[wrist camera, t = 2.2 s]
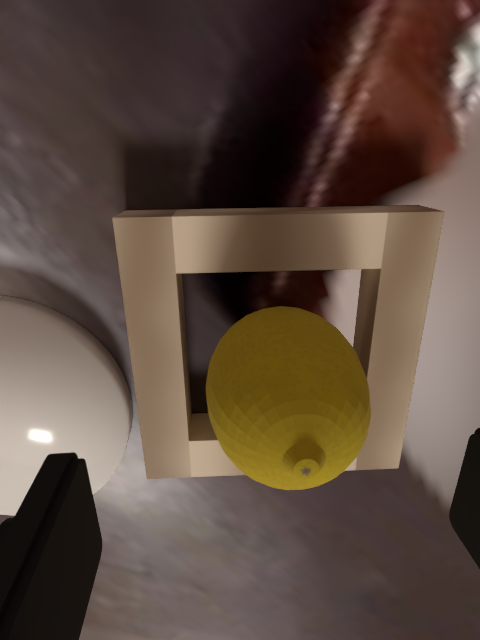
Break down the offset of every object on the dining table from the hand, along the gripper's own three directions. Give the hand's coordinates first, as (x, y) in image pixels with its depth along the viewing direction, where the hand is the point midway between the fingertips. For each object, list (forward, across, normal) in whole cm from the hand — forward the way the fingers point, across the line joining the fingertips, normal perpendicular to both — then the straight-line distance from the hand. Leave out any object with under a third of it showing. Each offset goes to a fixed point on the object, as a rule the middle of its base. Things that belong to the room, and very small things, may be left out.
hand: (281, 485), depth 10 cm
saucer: (+9, +11, +3) cm, 14 cm away
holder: (+9, -1, 0) cm, 9 cm away
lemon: (+9, -1, 0) cm, 9 cm away
